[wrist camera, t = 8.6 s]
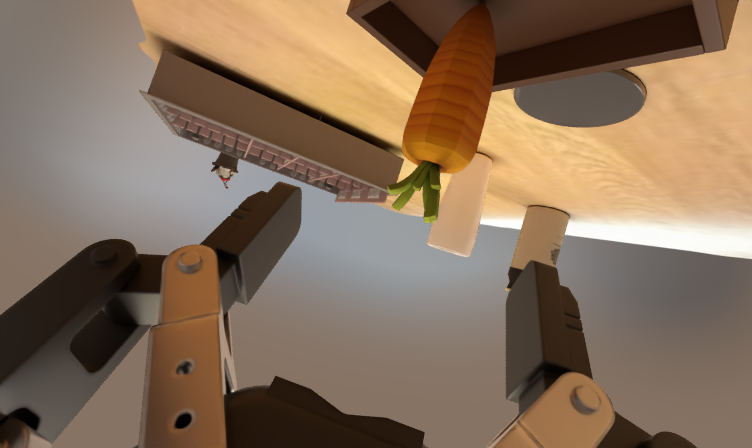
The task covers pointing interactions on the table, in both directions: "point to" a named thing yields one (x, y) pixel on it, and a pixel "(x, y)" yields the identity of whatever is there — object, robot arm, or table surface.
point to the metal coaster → (584, 99)
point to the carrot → (449, 109)
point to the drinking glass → (462, 208)
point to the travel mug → (538, 239)
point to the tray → (554, 33)
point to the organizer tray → (268, 133)
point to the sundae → (225, 166)
